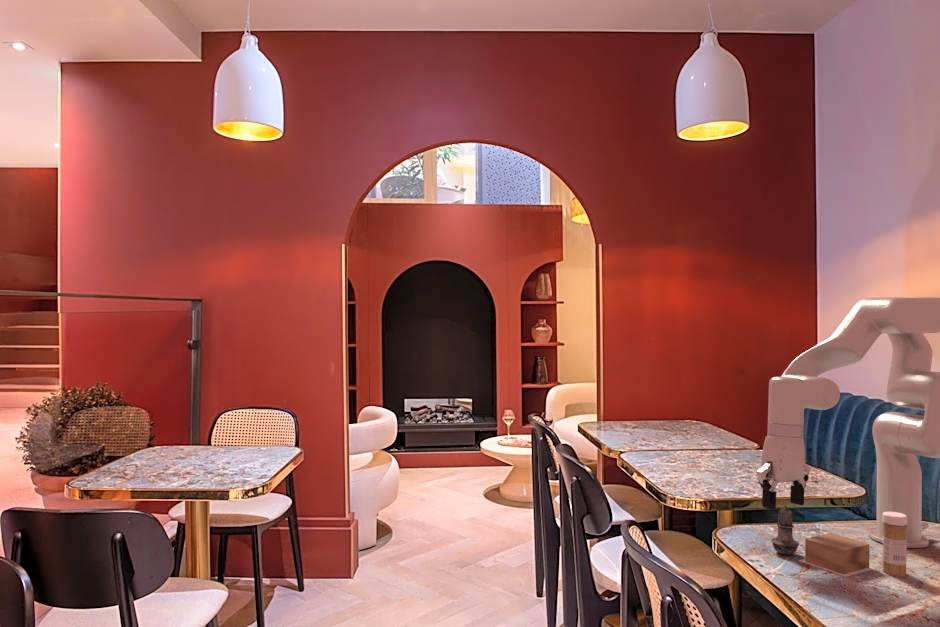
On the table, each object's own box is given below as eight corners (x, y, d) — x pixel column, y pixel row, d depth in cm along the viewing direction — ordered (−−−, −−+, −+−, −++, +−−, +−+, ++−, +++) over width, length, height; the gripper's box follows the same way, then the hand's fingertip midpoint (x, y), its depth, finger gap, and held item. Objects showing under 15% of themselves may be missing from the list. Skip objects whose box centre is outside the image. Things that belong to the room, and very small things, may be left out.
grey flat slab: (831, 555, 164) (831, 551, 164) (882, 571, 153) (882, 567, 153) (785, 566, 156) (785, 562, 156) (836, 584, 146) (837, 580, 146)
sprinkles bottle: (905, 575, 151) (905, 512, 151) (908, 582, 147) (908, 517, 147) (880, 571, 153) (881, 509, 153) (883, 579, 149) (883, 515, 149)
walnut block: (830, 554, 161) (830, 532, 161) (869, 567, 153) (869, 544, 153) (805, 561, 157) (805, 538, 157) (843, 574, 149) (843, 550, 149)
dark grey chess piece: (802, 562, 159) (802, 509, 159) (774, 560, 160) (774, 507, 160) (795, 554, 164) (795, 502, 164) (768, 552, 165) (769, 500, 166)
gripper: (795, 427, 170) (793, 498, 169) (745, 430, 161) (743, 505, 161) (824, 431, 163) (822, 506, 163) (774, 435, 155) (772, 513, 154)
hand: (783, 505), depth 162 cm, fingers open, 9 cm apart
